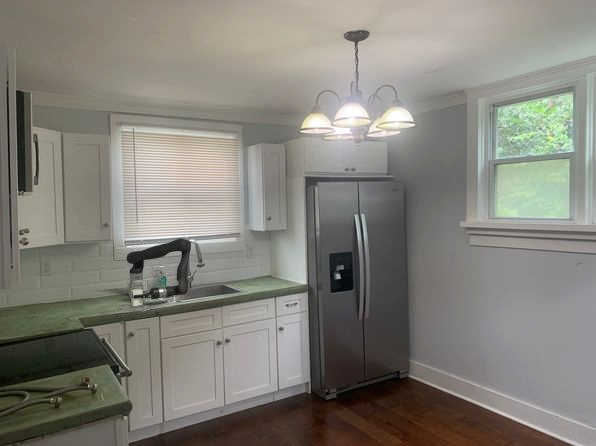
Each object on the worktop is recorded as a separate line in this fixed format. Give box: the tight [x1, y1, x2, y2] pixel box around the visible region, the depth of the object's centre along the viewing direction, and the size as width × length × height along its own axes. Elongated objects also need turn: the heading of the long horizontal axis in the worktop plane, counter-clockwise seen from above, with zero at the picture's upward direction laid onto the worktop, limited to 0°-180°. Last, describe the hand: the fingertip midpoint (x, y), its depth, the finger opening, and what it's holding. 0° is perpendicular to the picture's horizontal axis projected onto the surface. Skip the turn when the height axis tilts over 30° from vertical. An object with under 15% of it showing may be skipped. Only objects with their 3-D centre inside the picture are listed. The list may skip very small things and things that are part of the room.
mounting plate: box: [118, 303, 157, 312], centre depth 295 cm, size 20×12×1 cm, turn 68°
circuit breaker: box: [133, 279, 152, 305], centre depth 315 cm, size 8×14×15 cm, turn 174°
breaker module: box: [129, 289, 144, 306], centre depth 294 cm, size 4×7×10 cm, turn 128°
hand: (132, 296), depth 293 cm, fingers closed on breaker module, 4 cm apart
